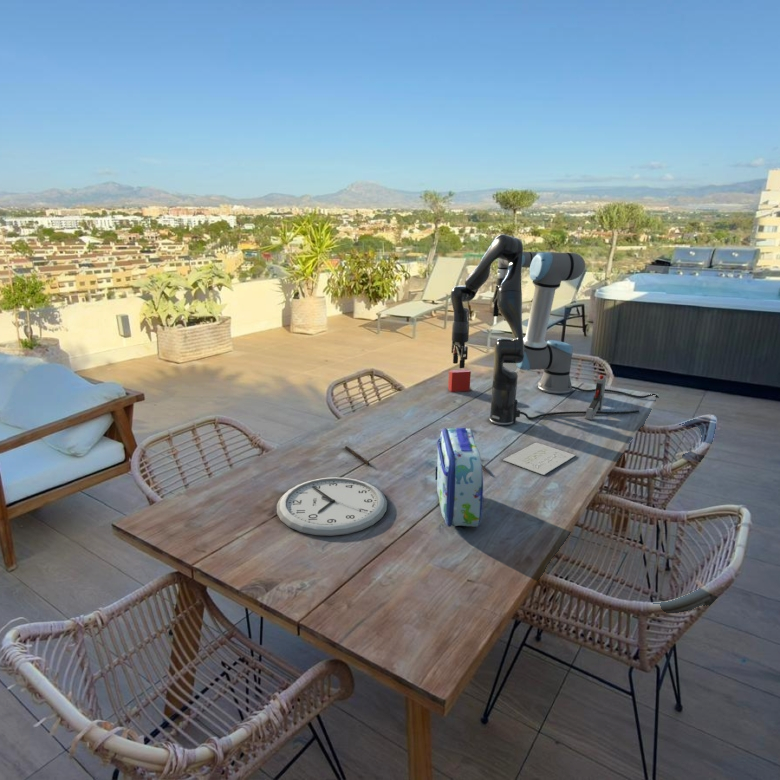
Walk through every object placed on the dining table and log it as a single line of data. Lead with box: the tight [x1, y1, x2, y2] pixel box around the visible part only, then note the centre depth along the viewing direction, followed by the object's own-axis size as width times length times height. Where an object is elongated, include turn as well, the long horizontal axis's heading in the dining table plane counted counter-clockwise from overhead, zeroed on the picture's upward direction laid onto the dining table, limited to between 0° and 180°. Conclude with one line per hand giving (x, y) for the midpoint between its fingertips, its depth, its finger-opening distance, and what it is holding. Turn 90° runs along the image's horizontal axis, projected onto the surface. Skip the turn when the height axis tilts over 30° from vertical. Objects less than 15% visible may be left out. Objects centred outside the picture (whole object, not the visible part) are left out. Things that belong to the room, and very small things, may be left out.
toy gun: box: [585, 374, 606, 421], centre depth 213 cm, size 2×16×15 cm
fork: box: [482, 465, 488, 474], centre depth 169 cm, size 3×16×2 cm, turn 15°
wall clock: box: [276, 476, 388, 537], centre depth 142 cm, size 30×2×30 cm
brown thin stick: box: [344, 445, 370, 465], centre depth 173 cm, size 15×1×1 cm, turn 34°
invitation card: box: [502, 442, 577, 476], centre depth 174 cm, size 21×1×15 cm
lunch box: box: [434, 427, 484, 528], centre depth 139 cm, size 26×11×21 cm, turn 179°
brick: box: [447, 369, 472, 393], centre depth 245 cm, size 4×9×9 cm, turn 104°
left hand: (458, 365), depth 240 cm, fingers open, 8 cm apart
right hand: (501, 318), depth 277 cm, fingers open, 13 cm apart
